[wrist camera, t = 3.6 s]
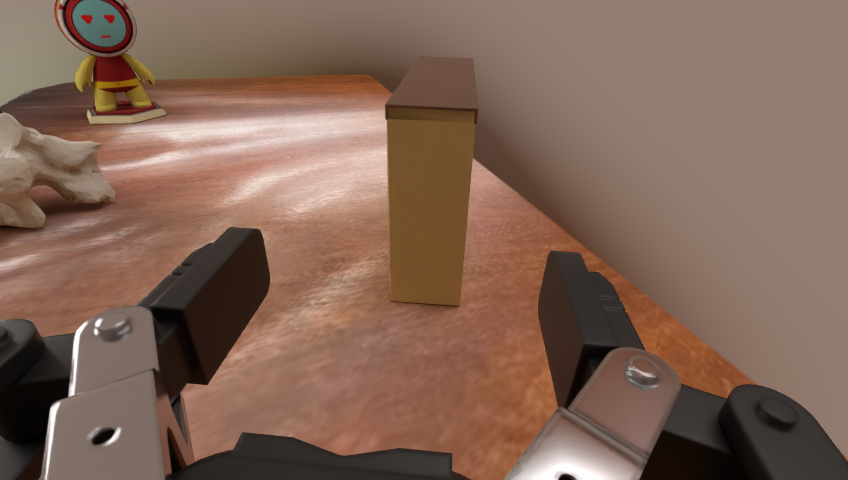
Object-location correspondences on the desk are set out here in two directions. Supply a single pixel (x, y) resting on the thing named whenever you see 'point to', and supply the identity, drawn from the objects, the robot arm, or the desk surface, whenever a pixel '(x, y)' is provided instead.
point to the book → (430, 178)
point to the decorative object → (45, 172)
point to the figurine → (107, 59)
